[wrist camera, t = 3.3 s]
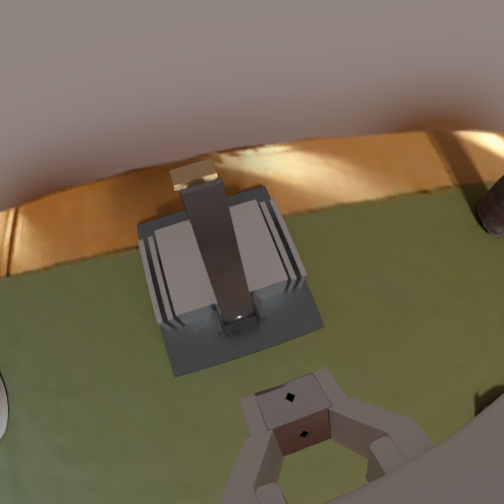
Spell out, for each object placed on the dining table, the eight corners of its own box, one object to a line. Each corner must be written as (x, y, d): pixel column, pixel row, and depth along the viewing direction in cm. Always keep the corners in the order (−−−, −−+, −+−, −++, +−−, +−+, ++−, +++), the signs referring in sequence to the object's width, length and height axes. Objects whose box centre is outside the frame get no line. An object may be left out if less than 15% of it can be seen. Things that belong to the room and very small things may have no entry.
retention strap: (253, 309, 32) (256, 318, 31) (222, 319, 32) (225, 328, 31) (221, 177, 23) (225, 183, 22) (179, 189, 23) (180, 196, 22)
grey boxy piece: (176, 376, 35) (152, 375, 26) (139, 229, 42) (113, 189, 33) (322, 327, 37) (345, 310, 28) (264, 190, 44) (267, 143, 35)
